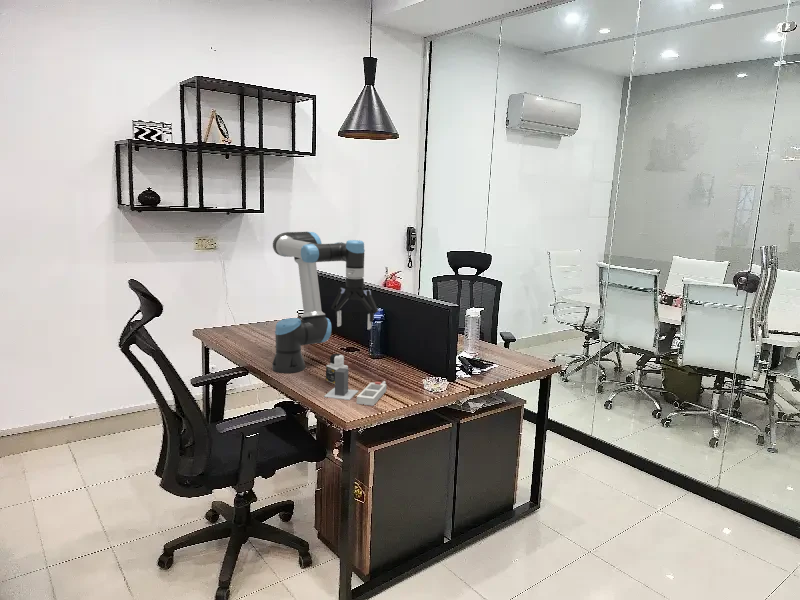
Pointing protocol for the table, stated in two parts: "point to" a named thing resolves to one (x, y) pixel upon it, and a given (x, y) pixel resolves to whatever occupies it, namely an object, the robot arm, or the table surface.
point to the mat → (345, 397)
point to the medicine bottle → (334, 366)
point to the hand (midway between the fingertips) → (354, 327)
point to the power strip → (372, 393)
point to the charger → (341, 381)
